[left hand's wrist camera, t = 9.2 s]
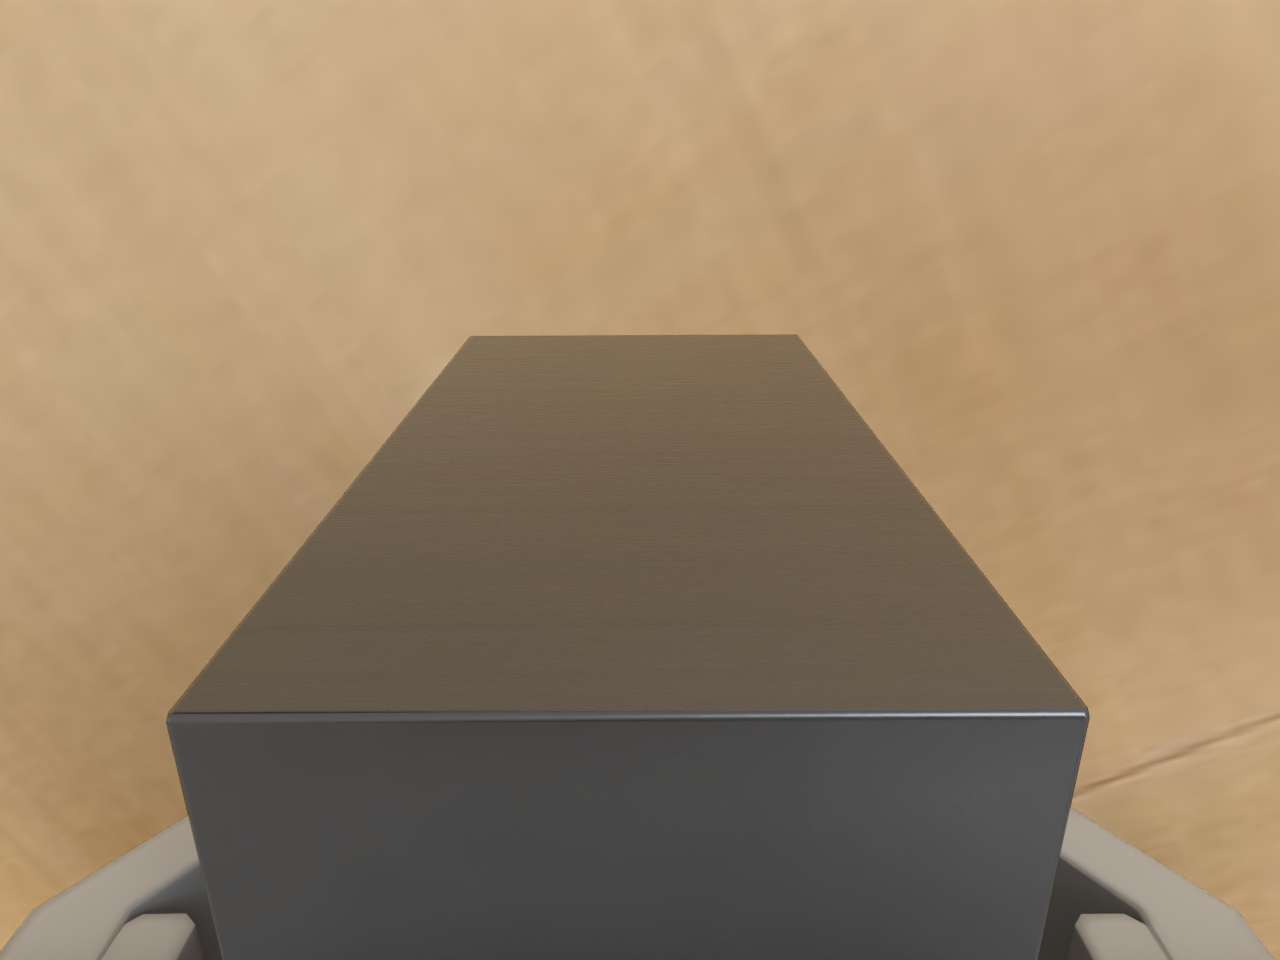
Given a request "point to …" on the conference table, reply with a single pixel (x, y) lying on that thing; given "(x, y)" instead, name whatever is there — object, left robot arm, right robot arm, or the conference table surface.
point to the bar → (630, 687)
